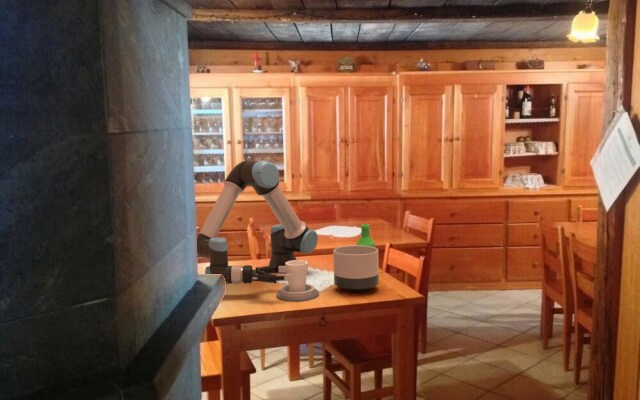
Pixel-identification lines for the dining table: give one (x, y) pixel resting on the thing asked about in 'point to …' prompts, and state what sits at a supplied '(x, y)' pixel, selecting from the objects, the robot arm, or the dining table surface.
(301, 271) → the foam cup
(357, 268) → the planter
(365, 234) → the bottle
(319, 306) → the dining table surface
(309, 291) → the collar coaster
